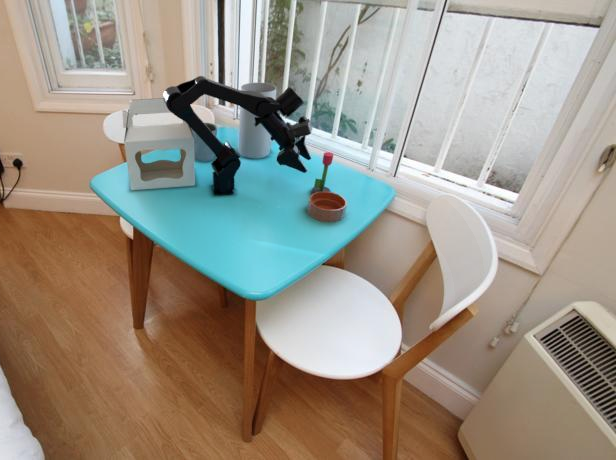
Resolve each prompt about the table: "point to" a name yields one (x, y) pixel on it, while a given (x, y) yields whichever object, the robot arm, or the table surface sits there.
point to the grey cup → (203, 146)
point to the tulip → (321, 182)
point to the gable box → (157, 148)
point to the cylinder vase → (254, 137)
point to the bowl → (326, 206)
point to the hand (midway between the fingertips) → (308, 165)
